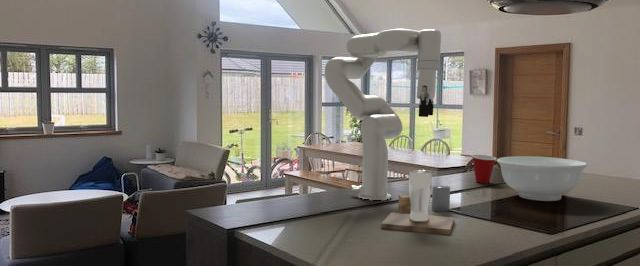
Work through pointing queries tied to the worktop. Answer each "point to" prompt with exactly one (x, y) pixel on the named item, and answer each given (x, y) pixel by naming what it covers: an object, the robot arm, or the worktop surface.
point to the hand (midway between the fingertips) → (425, 115)
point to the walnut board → (418, 224)
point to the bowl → (541, 176)
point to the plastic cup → (483, 167)
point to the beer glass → (419, 195)
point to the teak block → (404, 204)
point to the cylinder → (440, 198)
